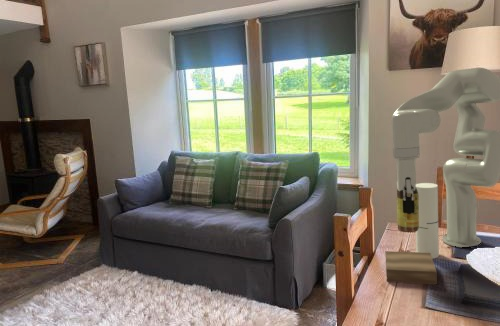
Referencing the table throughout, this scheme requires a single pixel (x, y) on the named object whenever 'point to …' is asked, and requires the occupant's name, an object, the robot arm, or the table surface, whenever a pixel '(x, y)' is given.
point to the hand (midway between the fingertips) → (407, 208)
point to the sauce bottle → (407, 220)
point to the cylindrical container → (428, 219)
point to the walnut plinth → (410, 267)
